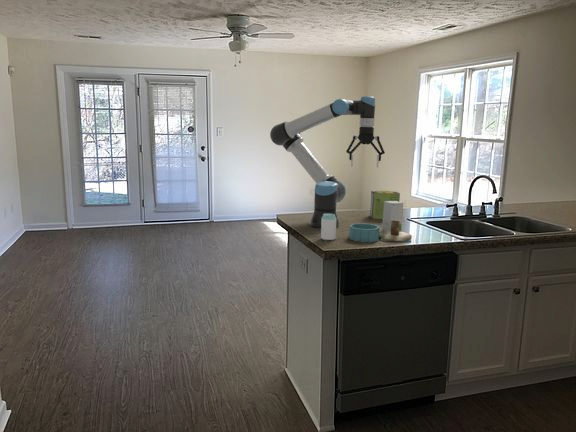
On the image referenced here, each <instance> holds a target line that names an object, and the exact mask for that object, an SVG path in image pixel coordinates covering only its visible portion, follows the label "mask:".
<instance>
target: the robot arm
mask: <svg viewBox="0 0 576 432" xmlns="http://www.w3.org/2000/svg"><path fill="white" fill-rule="evenodd" d="M375 111H376V98H375V96H361V97H360V99H359V100H352V99H351V100H349V99H345V98H338V99H336V100H334V101H333V102H332V103H329V104H327V105H325V106H322V107H321V108H318V109H315V110H313V111H312V112H308V113H307V114H305V115H302V116H300V117H297V118H295V119H293V120H290V121H288V120H286V121H284V122H281V123H279V124H276V125H273V126H272V128H271V129H270V132H269V133H270V134H269V135H270V136H269V137H270V139H271V142H272V143H273V144H274V145H275V146H282V147H283V148H284V150H285V151H287V152H288V153H291V154H292V155H293V156H294V157H295V159H296V160H297V161H298V163H299V164H300V165H301V167H303V169H304V170H305V171H306V172H307V174H308V175H309V176H310V177H311V178H312V180H313V181H314V182H315V185H314V201H313V202H314V206H313V214H312V217H311V219H310V226H311V227H313V228H316V229H321V218H322V216H323V214H335V217H336V229H337V228H339V225H340V223H339V218H338V215H337V203H340V202H341V201H343V200H344V198H345V196H346V193H347V189H346V186H345V185H344V183H343V182H341V181H339V180H337V178H336V176H334V175H332V174H329V173H328V171H326V168H324V167H323V166H322V164H321V163H320V162H319V160H318V159H317V158H316V157H315V156H314V155H313V153H312V151H311V150H310V149H309V148H308V147H307V146H306V144H305V143H304V138H303V136H302V135H301V133H303V132H306V131H307V130H310V129H312V128H315V127H317V126H320V125H322V124H323V123H326V122H329V121H331V120H334V119H337V118H339V117H340V116H359V130H358V131H359V132H358V135H353V136H352V140H351V142H350V144H349V146H348V148H347V149H346V151H345V153H346V154H349V157H348V158H349V161H350V167H353V165H354V163H353V161H354V154H353V153H354V152H355V151H356V149H358V147H360V145H361V144H362V145H370V146H372V147H373V149H374V150H375V151H376V153H377V155H376V168H379V163H380V162H381V161H382V155H385V154H386V153H385V150H384V148H383V145H382V143H381V141H380V136H379V135H378V136H374V131H375V128H374V126H375V114H376V113H375ZM357 139H358V141H359V142H358V143H356V145H354V143H355V141H356V140H357ZM374 140H375V141H376V142H377V144H378V147H379V149H380V150H379V149H378V147H377V146H376V145H375V143H374V142H373V141H374ZM353 145H354V147H353ZM352 147H353V148H352ZM380 151H381V152H380Z"/></svg>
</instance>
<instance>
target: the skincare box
mask: <svg viewBox="0 0 576 432" xmlns="http://www.w3.org/2000/svg"><path fill="white" fill-rule="evenodd" d="M403 215H404V202H402V201H399V202H398V201H384V210H383V219H382V227H381V229H382V230H381V232H382V231H391V220H400V228H399V232H403V231H402V229H403Z"/></svg>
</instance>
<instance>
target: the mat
mask: <svg viewBox="0 0 576 432" xmlns="http://www.w3.org/2000/svg"><path fill="white" fill-rule="evenodd" d="M379 240H380V241H381V242H393V241H392V240H385V239H382V238H379ZM394 242H397V243H399V242H401V243H412V239H410V240H407V241H394Z"/></svg>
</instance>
